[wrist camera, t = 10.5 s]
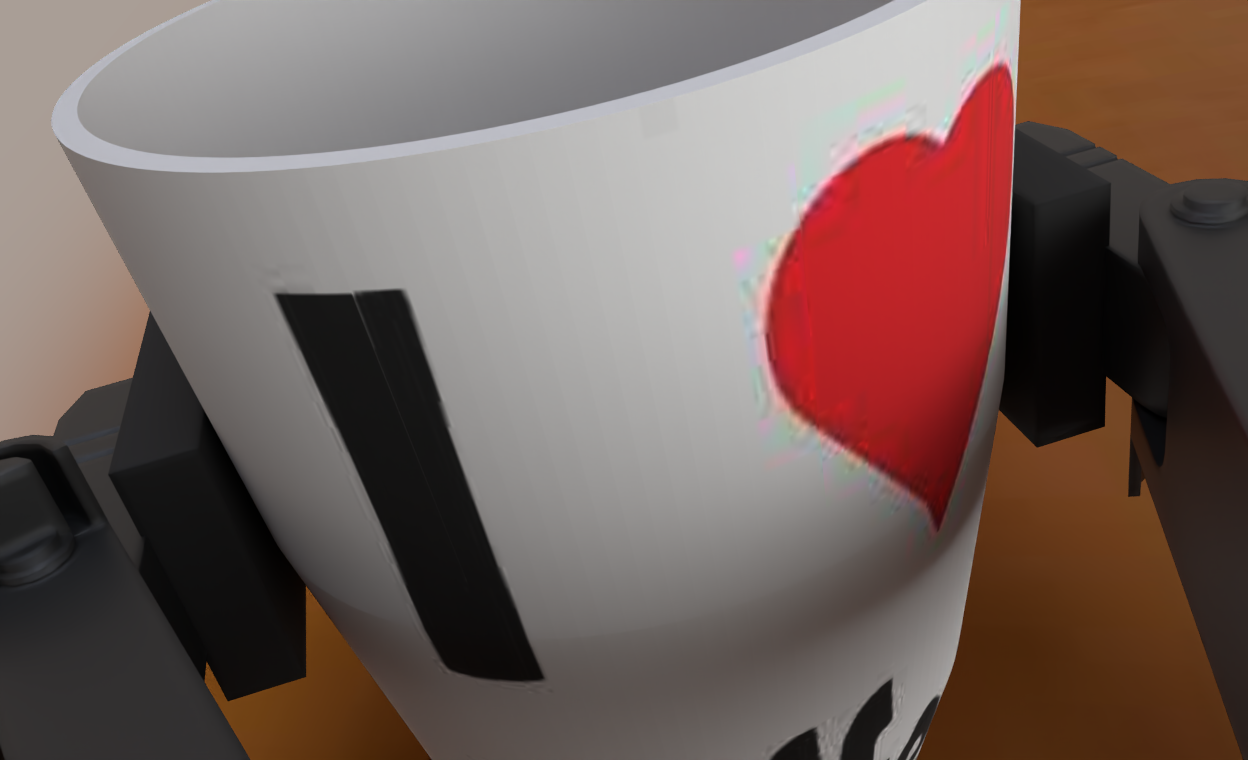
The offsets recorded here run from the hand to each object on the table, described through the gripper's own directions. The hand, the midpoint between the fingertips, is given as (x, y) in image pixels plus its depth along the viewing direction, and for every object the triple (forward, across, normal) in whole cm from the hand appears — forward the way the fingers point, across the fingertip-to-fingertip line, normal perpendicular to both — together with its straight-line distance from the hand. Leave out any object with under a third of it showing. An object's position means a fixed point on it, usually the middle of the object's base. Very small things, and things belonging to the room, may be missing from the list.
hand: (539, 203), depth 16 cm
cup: (-5, 0, -6) cm, 8 cm away
